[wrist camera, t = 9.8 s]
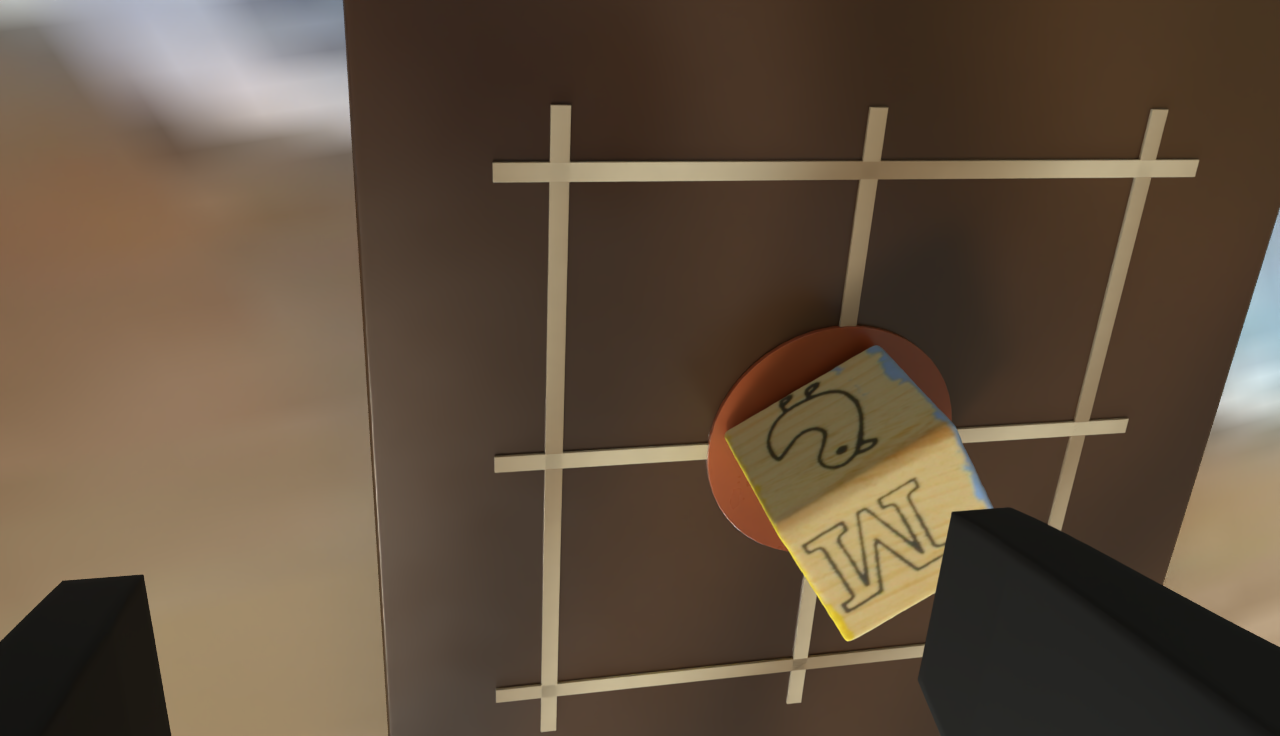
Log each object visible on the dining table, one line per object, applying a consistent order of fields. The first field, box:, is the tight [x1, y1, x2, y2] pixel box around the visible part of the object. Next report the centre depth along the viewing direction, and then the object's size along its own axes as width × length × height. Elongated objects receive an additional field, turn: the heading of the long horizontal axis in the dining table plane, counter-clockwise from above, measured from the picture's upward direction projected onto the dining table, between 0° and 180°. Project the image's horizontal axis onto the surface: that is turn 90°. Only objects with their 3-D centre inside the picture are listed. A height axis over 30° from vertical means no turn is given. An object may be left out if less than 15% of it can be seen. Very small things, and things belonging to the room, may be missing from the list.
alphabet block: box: [725, 345, 993, 641], centre depth 18 cm, size 3×3×3 cm
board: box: [343, 0, 1280, 736], centre depth 20 cm, size 16×20×1 cm
